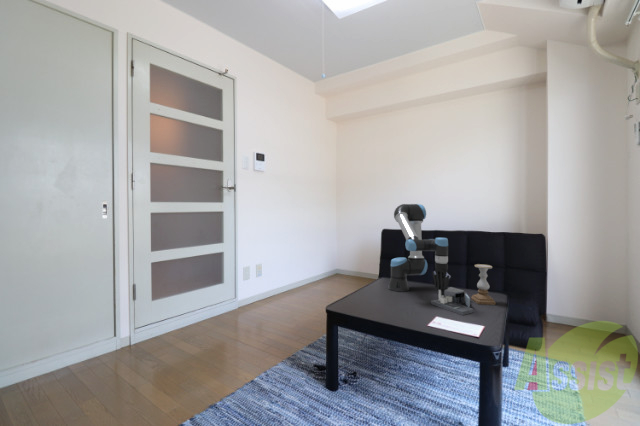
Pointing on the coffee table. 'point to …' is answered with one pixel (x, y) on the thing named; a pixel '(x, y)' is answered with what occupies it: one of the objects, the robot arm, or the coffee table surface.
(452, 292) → the cabinet
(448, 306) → the console
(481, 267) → the candle holder
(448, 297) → the fader
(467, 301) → the door
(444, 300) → the fader
